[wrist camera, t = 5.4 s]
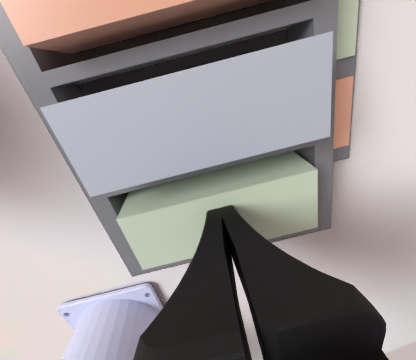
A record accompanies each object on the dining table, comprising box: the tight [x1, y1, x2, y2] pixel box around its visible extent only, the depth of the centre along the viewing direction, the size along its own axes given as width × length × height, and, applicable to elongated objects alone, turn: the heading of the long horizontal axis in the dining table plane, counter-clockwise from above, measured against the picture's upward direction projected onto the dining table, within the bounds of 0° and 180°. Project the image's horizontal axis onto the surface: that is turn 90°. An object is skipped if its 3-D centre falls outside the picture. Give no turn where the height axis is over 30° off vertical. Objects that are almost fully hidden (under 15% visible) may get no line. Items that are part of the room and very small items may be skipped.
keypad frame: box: [0, 0, 338, 277], centre depth 11 cm, size 18×13×3 cm
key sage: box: [116, 151, 318, 270], centre depth 13 cm, size 4×10×3 cm, turn 103°
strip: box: [333, 0, 360, 162], centre depth 12 cm, size 11×2×1 cm, turn 13°
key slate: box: [40, 31, 333, 197], centre depth 10 cm, size 4×10×3 cm, turn 103°
